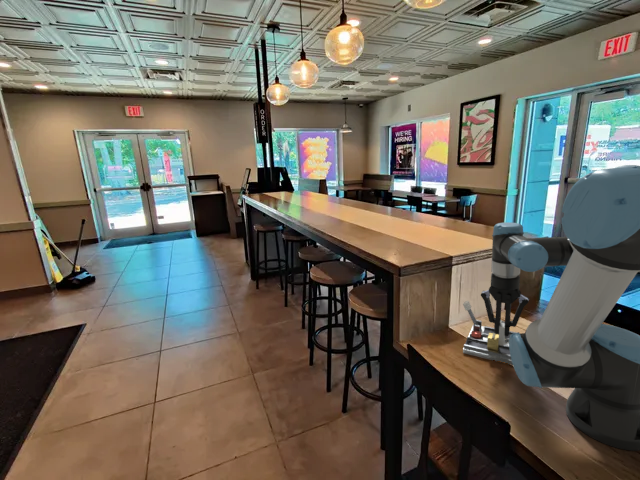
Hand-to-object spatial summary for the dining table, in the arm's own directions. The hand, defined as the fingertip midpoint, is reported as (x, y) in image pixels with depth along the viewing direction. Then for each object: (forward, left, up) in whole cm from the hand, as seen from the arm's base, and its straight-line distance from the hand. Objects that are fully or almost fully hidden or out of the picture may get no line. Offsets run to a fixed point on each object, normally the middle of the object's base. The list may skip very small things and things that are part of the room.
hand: (501, 343), depth 101 cm
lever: (+10, +8, -1) cm, 13 cm away
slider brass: (0, +2, -2) cm, 3 cm away
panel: (+5, +3, -4) cm, 7 cm away
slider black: (+10, +1, -2) cm, 10 cm away
